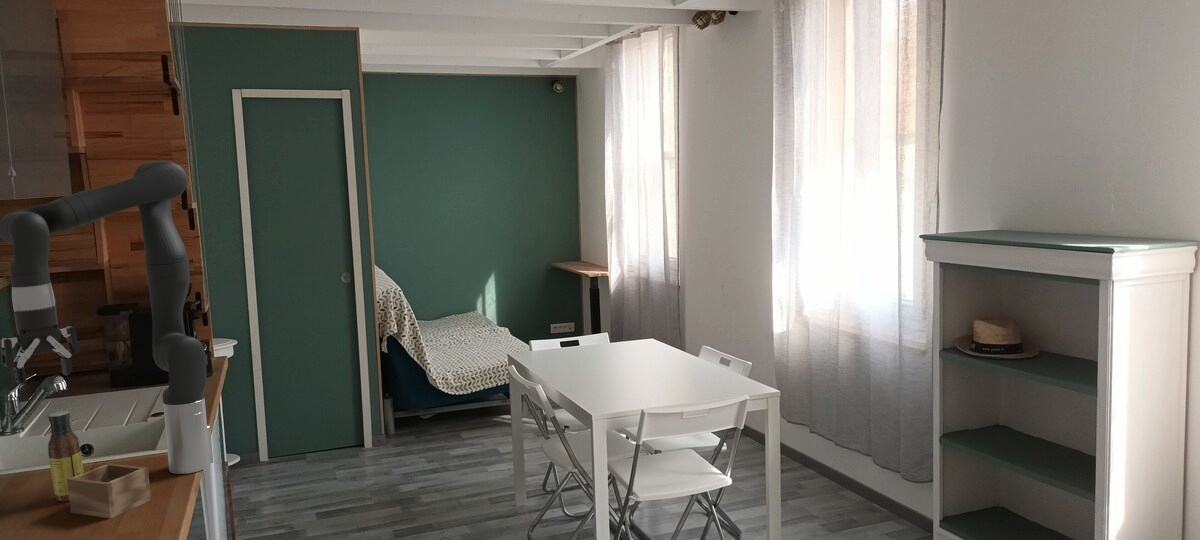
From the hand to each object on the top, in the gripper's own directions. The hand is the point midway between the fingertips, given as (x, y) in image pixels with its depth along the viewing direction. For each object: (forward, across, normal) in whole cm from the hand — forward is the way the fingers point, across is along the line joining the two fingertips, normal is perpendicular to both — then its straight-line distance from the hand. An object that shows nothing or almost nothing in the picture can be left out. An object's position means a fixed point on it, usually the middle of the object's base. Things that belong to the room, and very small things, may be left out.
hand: (45, 379), depth 188 cm
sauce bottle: (+29, -4, -5) cm, 30 cm away
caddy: (+29, -6, +9) cm, 31 cm away
